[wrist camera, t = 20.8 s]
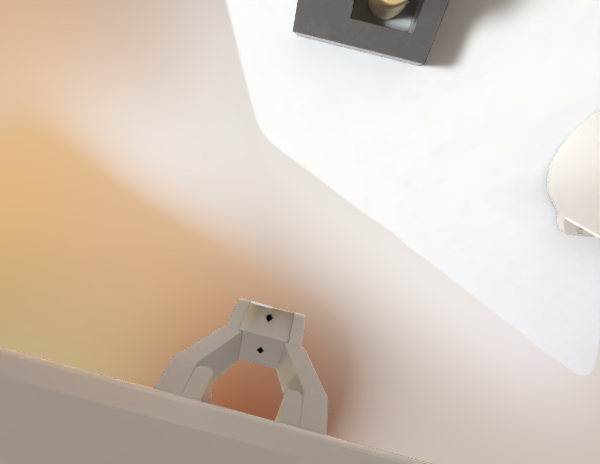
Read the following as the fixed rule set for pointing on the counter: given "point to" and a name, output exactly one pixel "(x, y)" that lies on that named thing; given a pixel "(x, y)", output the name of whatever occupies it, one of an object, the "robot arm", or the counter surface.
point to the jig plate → (370, 29)
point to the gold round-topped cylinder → (387, 7)
